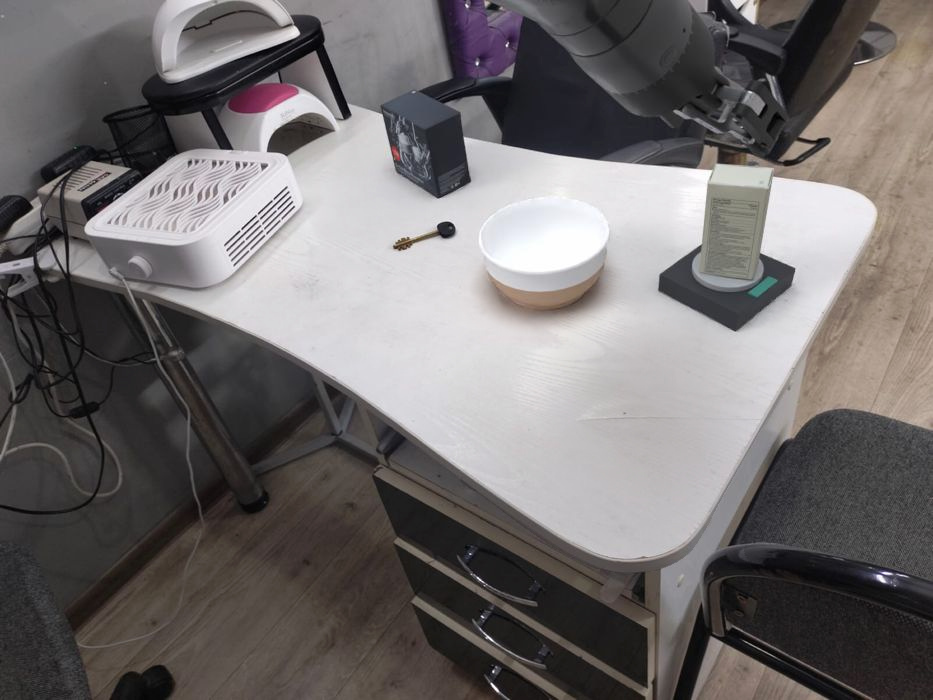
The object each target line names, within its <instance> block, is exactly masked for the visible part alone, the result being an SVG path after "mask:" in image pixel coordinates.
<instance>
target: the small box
mask: <svg viewBox="0 0 933 700" xmlns="http://www.w3.org/2000/svg"><path fill="white" fill-rule="evenodd" d="M379 107H380V111H381V115H382V118H383V123H384V128H385V131H386V136H387V140H388V144H389V149H390V152H391V153H390V154H391V157H392V162H393V166H394V169H395V172H396V173H398V174H400V175H402V176H403V177H405V178H406V179H408V180H409V181H411V182H412V183H414V184H415V185H417V186H418V187H420V188H422V189H423V190H425V191H426V192H427V193H429V194H431V195H432V196H434V197H435V198H437V199H439V198H442V197H444V196H445V195H447V194H449V193H451V192H454V191H455V190H457V189H459V188H461V187H463V186H464V185H467V184H469V183H471V181H472V179H471V175H470V169H469V163H468V155H467V150H466V144H465V143H466V142H465V137H464V130H463V122H462V113H461V111H459V110H457V109H455V108H453V107H451V106H449V105H446V104H445V103H443V102H441V101H439V100H437V99H435V98H433V97H431V96H429V95H426V94H424V93H422V92H420V91H419V90H417V89H415V88H414V89H411V90H409V91H407V92H404V93H402V94H400V95H398V96H396V97H393V98H391V99H389V100H387V101H385V102H383V103H380V105H379Z"/></svg>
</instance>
